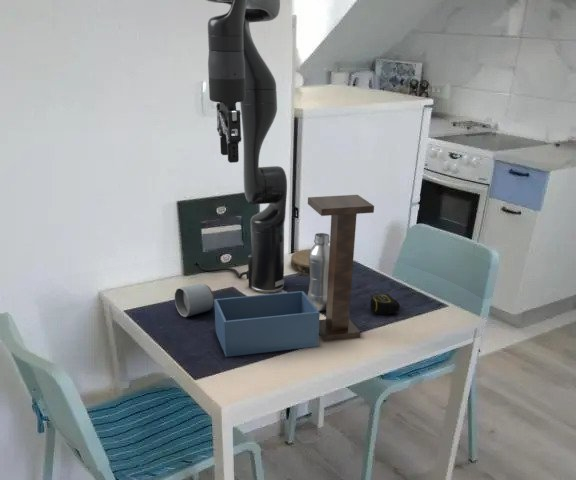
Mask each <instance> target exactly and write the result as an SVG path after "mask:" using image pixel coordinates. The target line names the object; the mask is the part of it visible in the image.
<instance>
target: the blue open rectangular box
mask: <svg viewBox="0 0 576 480" xmlns="http://www.w3.org/2000/svg"><path fill="white" fill-rule="evenodd" d="M307 295H308V294H306V292H305V291H304V290H299V291H289V292H287V291H286V292H275V293H264V294H255V295H245V296H233V297H223V298H214V305H213V307H214V323H215V326H214V327H215V334H216V337H217V339H218V342H219V344H220V346H221V349H222V351H223V354H224V357H226V358H229V357H238V356H246V355H247V356H248V355H256V354H264V353H273V352H282V351H289V350H298V349H299V350H300V349H306V348H307V349H308V348H315V347H316V348H317V347H319V338H320V334H319V320H321V317H320V316H321V311H318V309H317V308H316V307H315V306H314V304H313V303H312V302H311V300H310V299H309V298H308V297H307Z"/></svg>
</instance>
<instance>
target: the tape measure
mask: <svg viewBox="0 0 576 480" xmlns="http://www.w3.org/2000/svg"><path fill="white" fill-rule="evenodd" d="M369 307H370V309H371V310H372V312H375V313H377V314H380V315H389V314H393V313H397V312H399V311H400V309H401V305H400V303H399V301H397V300H396V299H395V298H393V297H392V296H391V295H390V294H389V293H385V294H375V295H373V296H372V297H371V298H370V303H369Z"/></svg>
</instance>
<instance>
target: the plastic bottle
mask: <svg viewBox="0 0 576 480" xmlns="http://www.w3.org/2000/svg"><path fill="white" fill-rule="evenodd" d="M313 243H314V244H313V246H312V247H311V248H310V249H311V250H310V251H309V254H308V259H309V267H310V275H309V285H308V291H307V294H306V295H307V297H308V298H309V299H310V300H311V302H312V303H313V304H314V306H315V307H316V308H317V309H318V311H319V312H323V311H326V308H327V289H328V270H329V251H330V233H325V232H317V233H315V234H314V239H313Z"/></svg>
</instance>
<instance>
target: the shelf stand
mask: <svg viewBox="0 0 576 480" xmlns="http://www.w3.org/2000/svg"><path fill="white" fill-rule="evenodd" d="M307 205H308V206H309V207H311V209H312V210H314V211H315V212H316V213H317V214H319V215H320V216H321V217H325V216H326V217H328V216H330V217H331V218H330V233H329V240H330V242H329V246H330V251H329V270H328V289H327V308H326V310H325V318H324V319H323V318H322V319H319V336H320V337H321V338H322V339H323V341H324V342H333V341H341V340H349V339H359V338H361V330H359V328H358V327H357V326H356V325H355V324H354V322H353V321H352V320H351V318H350V311H351V310H350V308H351V296H352V284H353V283H352V282H353V271H354V270H353V268H354V256H355V243H356V230H357V229H356V228H357V216H358V215H359V214H374V212H375V205H373V203H371V202H369V201H368V200H366V199H365V198H363V197H362V196H361V195H359V194H347V195H346V194H344V195H328V196H327V195H325V196H310V197H307Z"/></svg>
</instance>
